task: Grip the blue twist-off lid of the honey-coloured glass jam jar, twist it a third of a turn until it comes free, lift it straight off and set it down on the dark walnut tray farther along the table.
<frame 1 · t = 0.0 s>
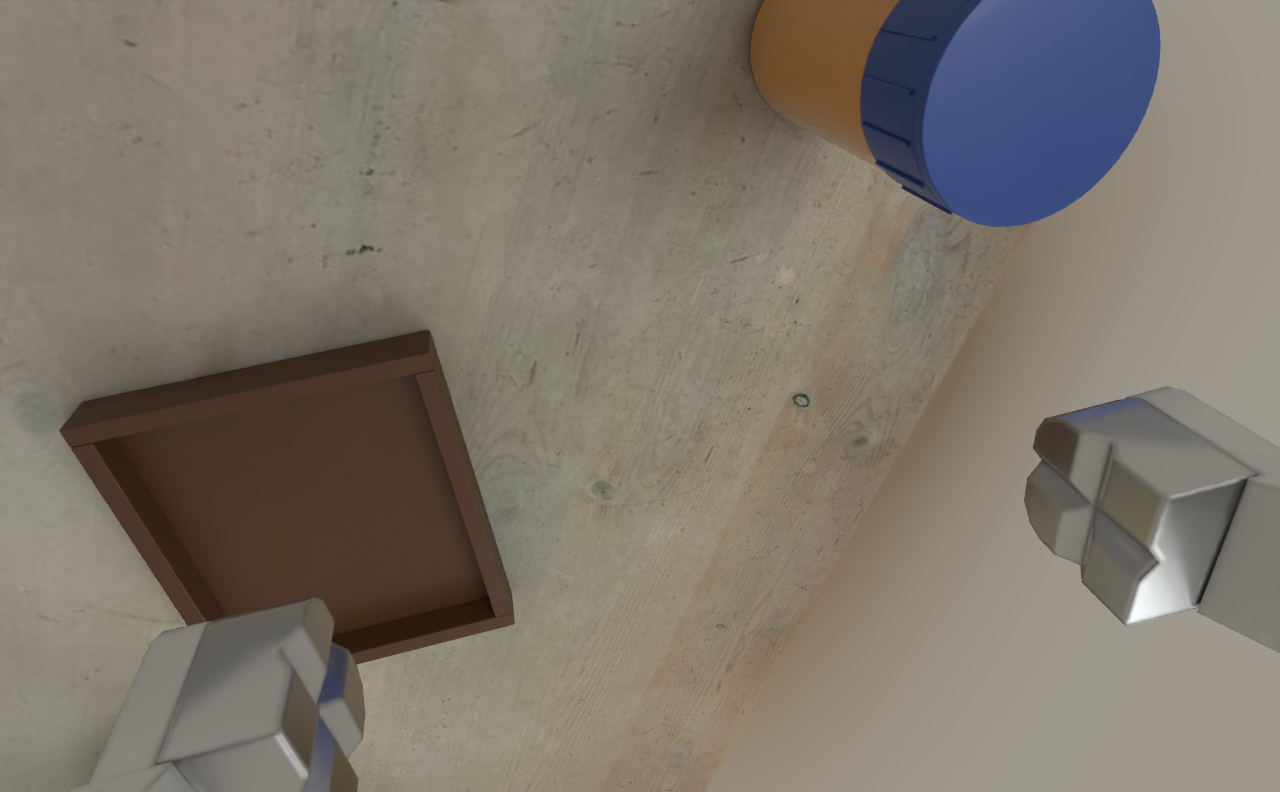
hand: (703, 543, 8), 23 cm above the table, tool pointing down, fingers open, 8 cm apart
jam lid: (1031, 98, 18), point 12 cm above the table, screwed on, not yet turned
walnut tray: (327, 511, 34), on the table
jam jar: (825, 43, 29), on the table
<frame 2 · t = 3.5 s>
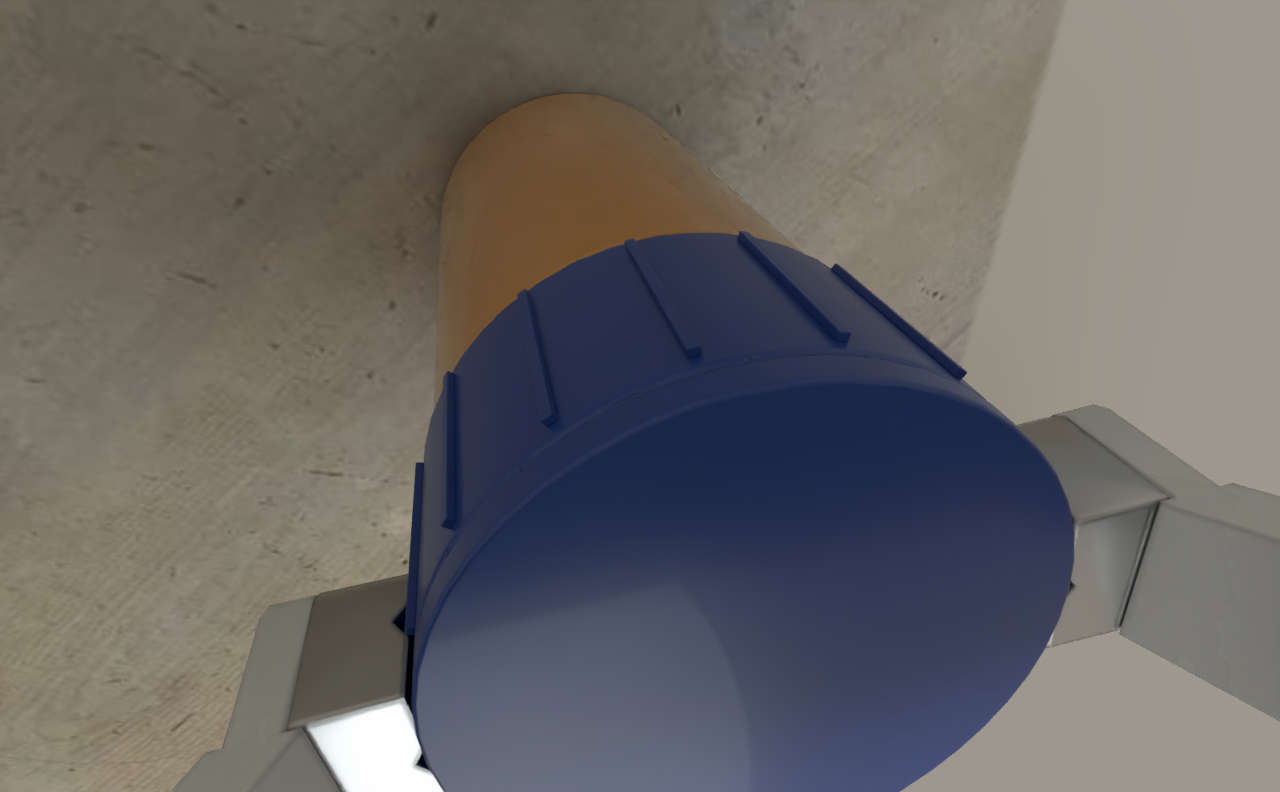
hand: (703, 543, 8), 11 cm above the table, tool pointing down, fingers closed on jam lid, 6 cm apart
jam lid: (750, 640, 7), point 12 cm above the table, screwed on, not yet turned, touching gripper
jam jar: (575, 231, 17), on the table
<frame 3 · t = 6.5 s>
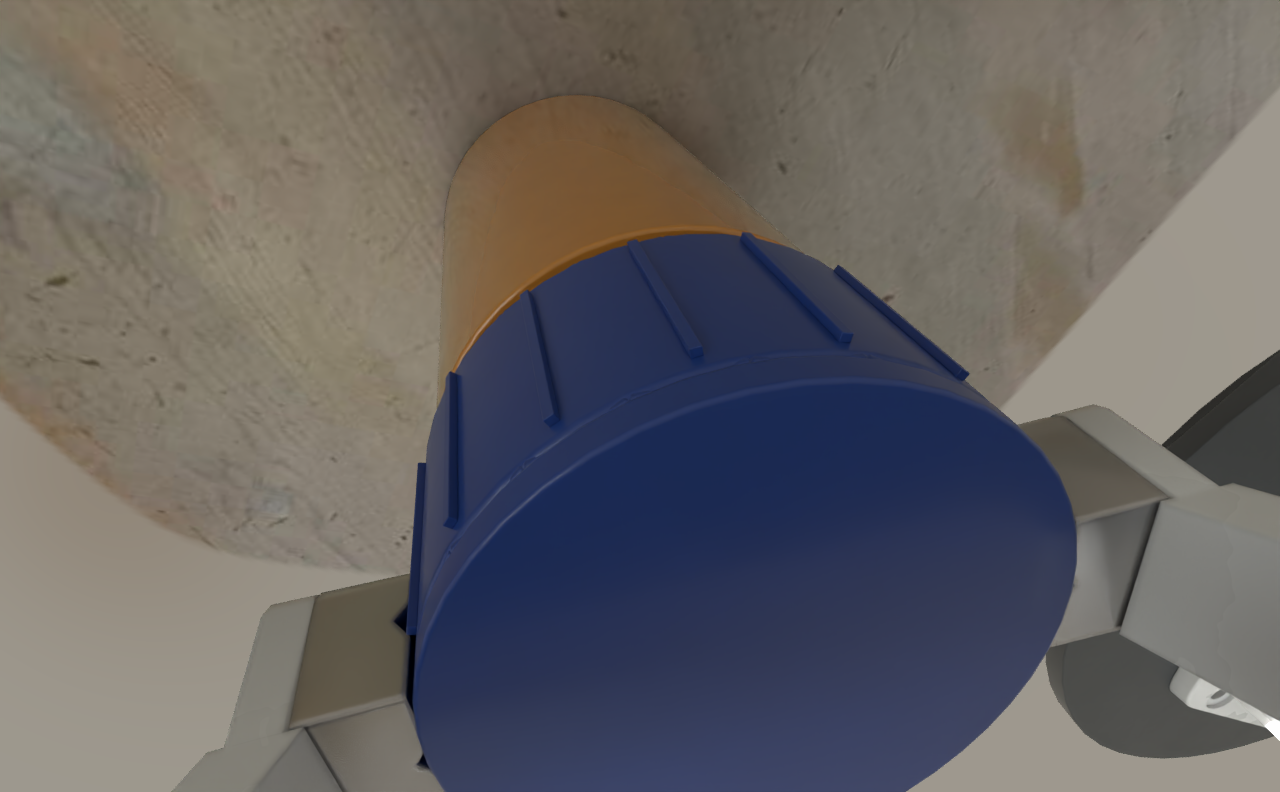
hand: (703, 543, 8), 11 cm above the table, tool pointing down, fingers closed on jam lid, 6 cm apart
jam lid: (751, 641, 7), point 12 cm above the table, turned 107° so far, risen 0.3 cm, still on its thread, touching gripper
jam jar: (577, 231, 18), on the table
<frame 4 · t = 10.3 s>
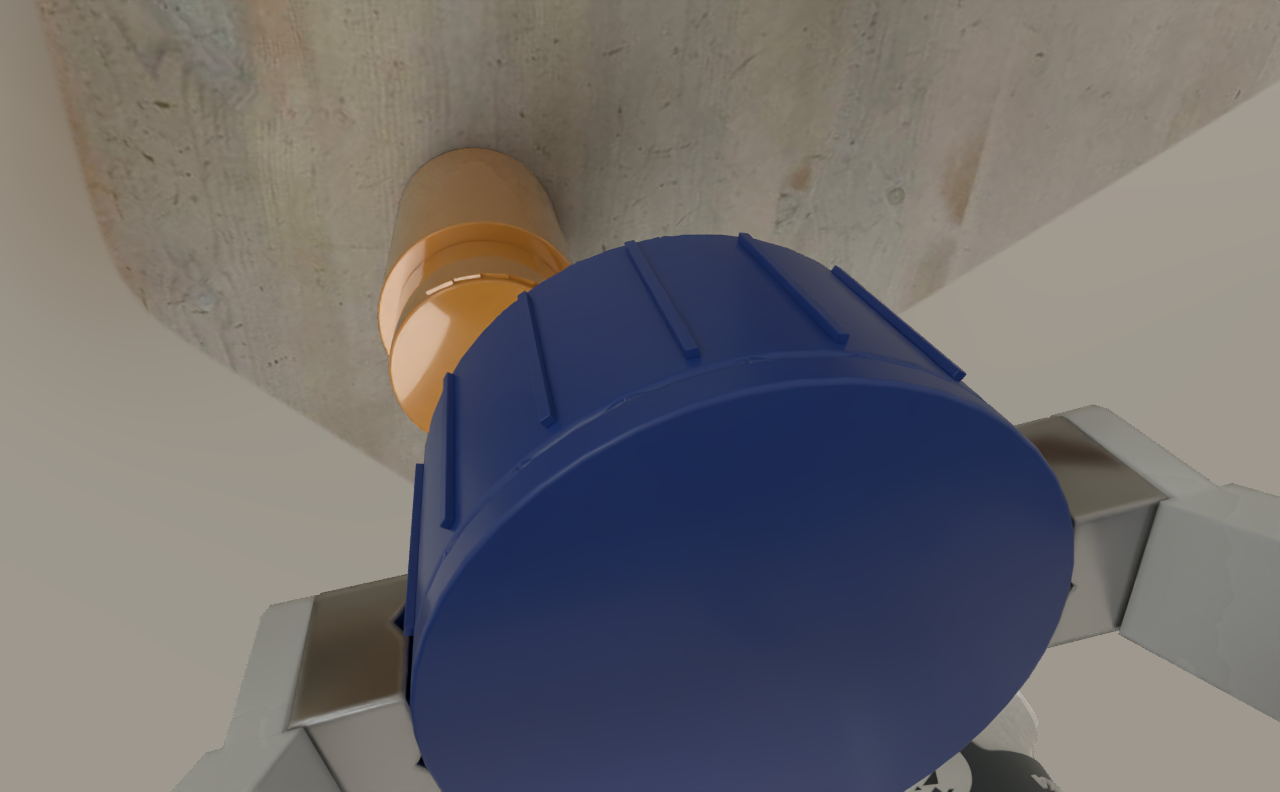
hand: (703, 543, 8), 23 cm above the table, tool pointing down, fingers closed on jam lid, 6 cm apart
jam lid: (749, 642, 7), point 25 cm above the table, off its thread, touching gripper
jam jar: (478, 226, 30), on the table
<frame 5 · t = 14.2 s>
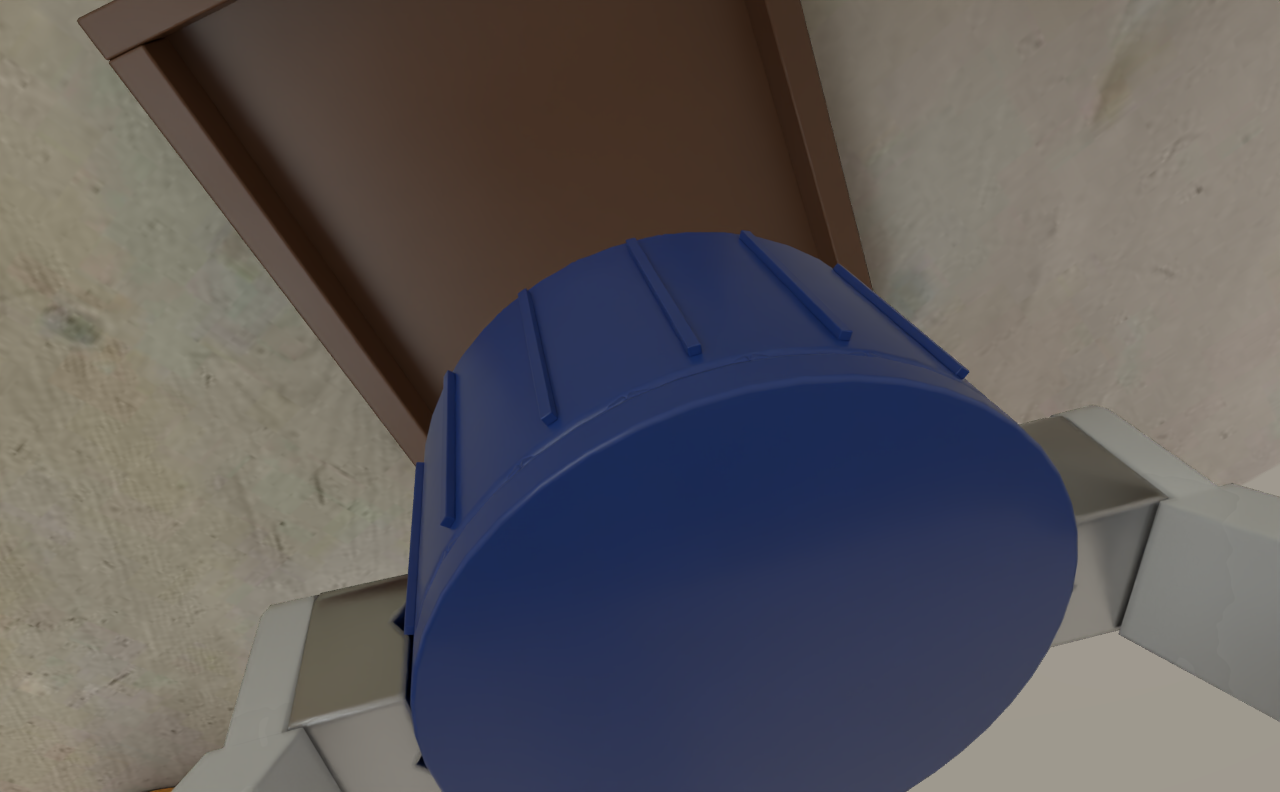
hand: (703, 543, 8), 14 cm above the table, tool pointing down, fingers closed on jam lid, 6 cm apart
jam lid: (751, 641, 7), point 15 cm above the table, off its thread, touching gripper
walnut tray: (561, 200, 20), on the table
when the fingers open (2 cm above the table, at t = 17.4 s): jam lid stays where it is, resting on walnut tray.
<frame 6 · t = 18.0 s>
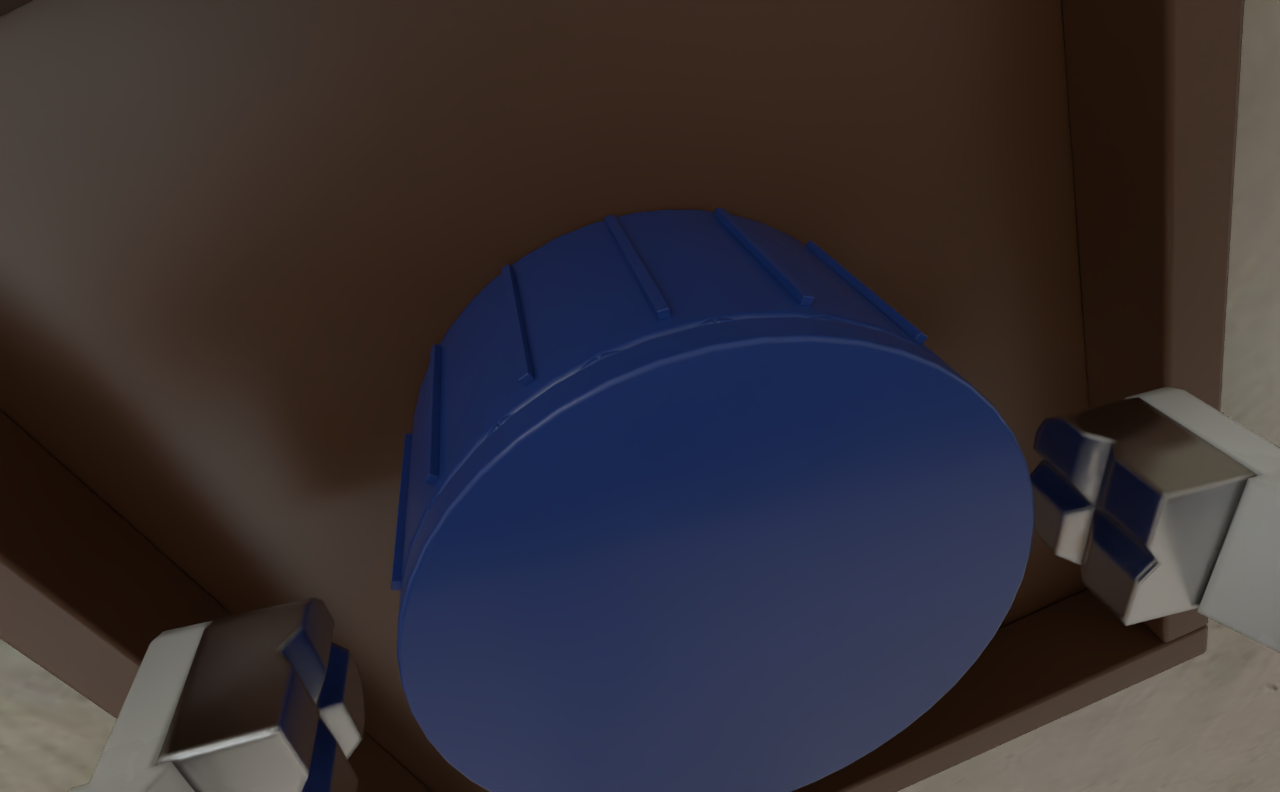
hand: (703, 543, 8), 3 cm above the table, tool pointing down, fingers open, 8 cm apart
jam lid: (724, 599, 8), point 3 cm above the table, off its thread, touching walnut tray
walnut tray: (649, 422, 11), on the table
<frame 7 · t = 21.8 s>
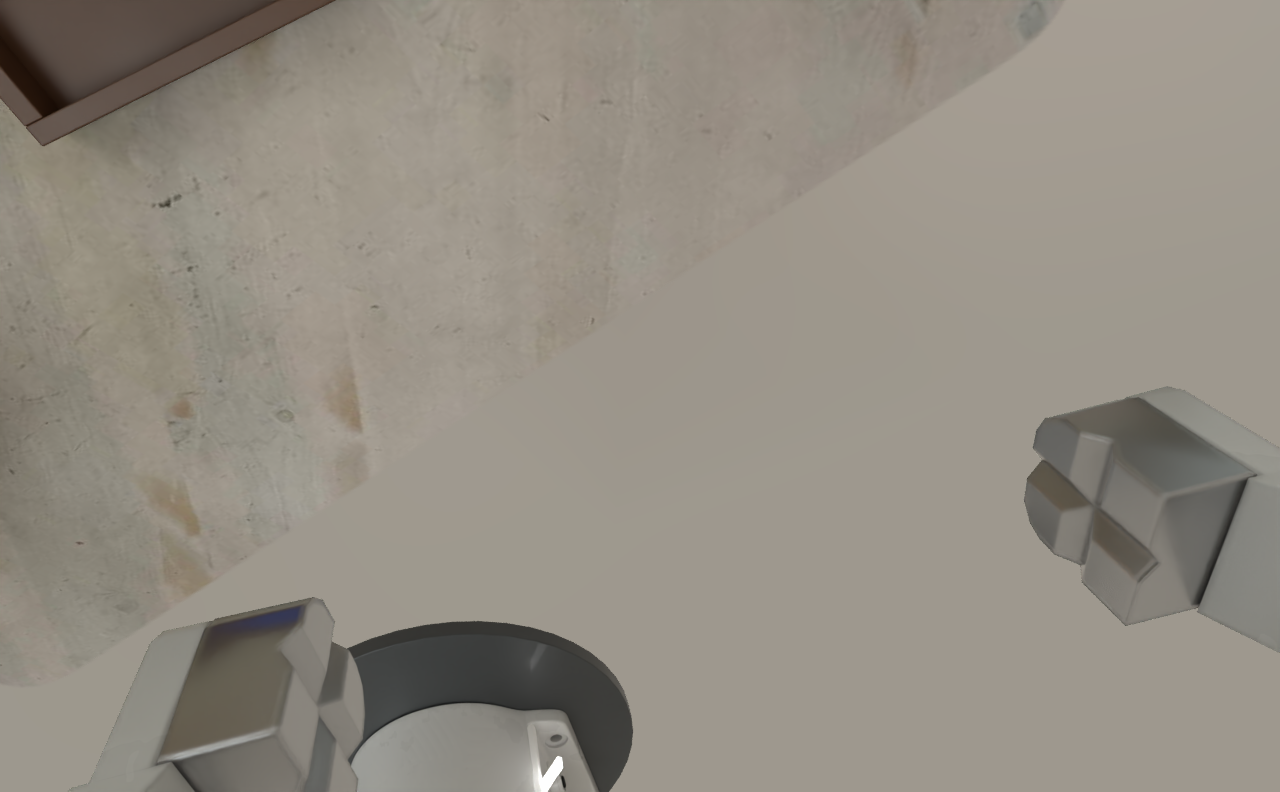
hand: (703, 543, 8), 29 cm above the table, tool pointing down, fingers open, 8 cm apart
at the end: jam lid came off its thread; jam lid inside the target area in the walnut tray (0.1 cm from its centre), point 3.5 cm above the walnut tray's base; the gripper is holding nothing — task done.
